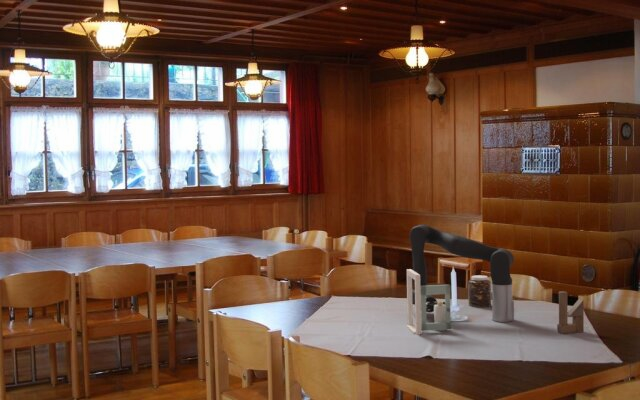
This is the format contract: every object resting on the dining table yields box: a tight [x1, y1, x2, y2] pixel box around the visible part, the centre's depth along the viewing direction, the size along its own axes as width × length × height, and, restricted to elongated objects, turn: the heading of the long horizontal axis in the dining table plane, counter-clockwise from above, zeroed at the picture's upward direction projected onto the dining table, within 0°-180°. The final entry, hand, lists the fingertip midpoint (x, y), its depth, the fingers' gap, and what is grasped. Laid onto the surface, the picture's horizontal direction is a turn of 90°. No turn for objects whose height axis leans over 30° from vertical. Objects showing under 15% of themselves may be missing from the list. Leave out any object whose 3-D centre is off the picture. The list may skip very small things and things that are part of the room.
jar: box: [467, 274, 492, 308], centre depth 405 cm, size 12×12×15 cm
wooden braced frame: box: [556, 290, 585, 335], centre depth 340 cm, size 4×11×18 cm, turn 102°
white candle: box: [433, 301, 447, 332], centre depth 352 cm, size 5×5×13 cm
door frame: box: [406, 268, 423, 336], centre depth 352 cm, size 4×18×26 cm, turn 6°
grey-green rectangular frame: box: [420, 284, 452, 332], centre depth 346 cm, size 13×3×20 cm, turn 96°
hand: (436, 309), depth 358 cm, fingers open, 8 cm apart
